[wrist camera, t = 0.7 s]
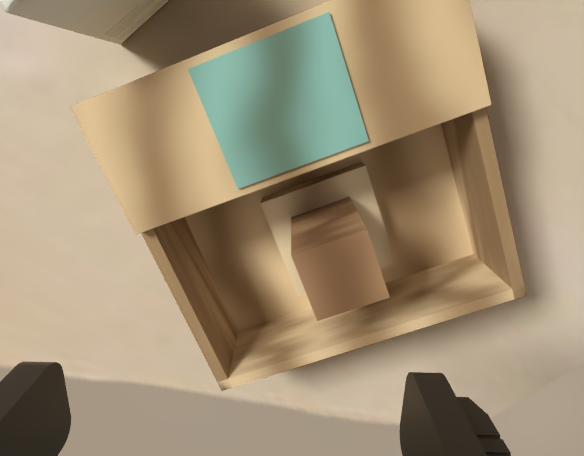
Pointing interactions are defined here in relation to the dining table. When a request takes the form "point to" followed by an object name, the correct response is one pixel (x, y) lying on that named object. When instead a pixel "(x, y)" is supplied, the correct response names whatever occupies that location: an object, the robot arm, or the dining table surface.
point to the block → (336, 259)
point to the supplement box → (88, 15)
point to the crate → (314, 176)
